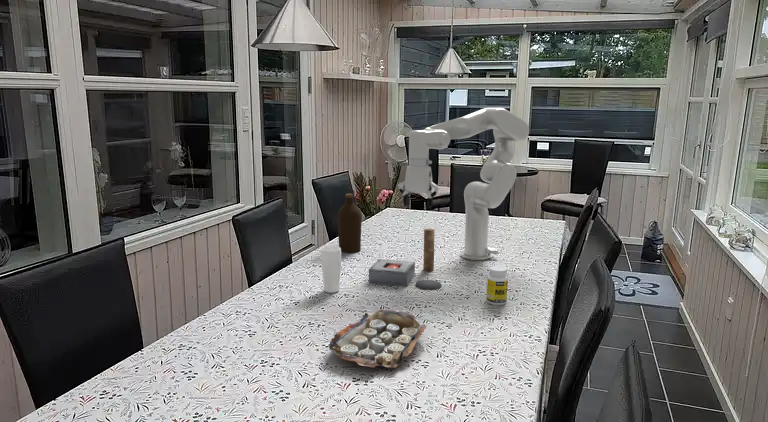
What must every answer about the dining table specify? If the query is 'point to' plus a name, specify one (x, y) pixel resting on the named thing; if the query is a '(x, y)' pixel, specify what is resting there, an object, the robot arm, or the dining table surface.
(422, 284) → the coaster
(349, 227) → the olive oil
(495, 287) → the supplement bottle
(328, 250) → the drinking glass
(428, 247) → the tan wooden rod
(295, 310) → the dining table surface
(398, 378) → the dining table surface
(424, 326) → the baking tray
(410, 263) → the grey square holed block
